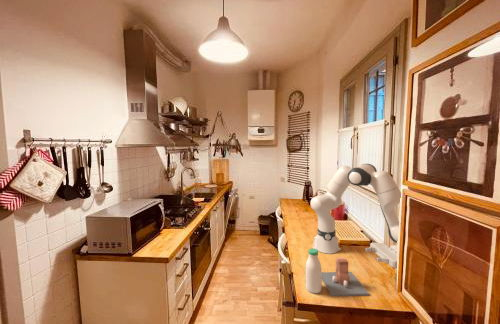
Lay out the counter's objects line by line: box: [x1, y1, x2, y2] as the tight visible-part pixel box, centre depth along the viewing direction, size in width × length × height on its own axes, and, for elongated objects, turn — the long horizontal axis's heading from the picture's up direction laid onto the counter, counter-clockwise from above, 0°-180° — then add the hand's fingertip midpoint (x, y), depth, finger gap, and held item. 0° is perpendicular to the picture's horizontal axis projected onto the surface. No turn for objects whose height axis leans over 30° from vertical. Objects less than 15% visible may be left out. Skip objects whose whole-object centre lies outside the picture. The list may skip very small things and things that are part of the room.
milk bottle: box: [305, 248, 323, 294], centre depth 105 cm, size 8×8×20 cm
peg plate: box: [321, 271, 370, 297], centre depth 109 cm, size 18×18×4 cm
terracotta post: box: [335, 256, 349, 285], centre depth 108 cm, size 4×4×12 cm
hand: (371, 254), depth 109 cm, fingers open, 8 cm apart
